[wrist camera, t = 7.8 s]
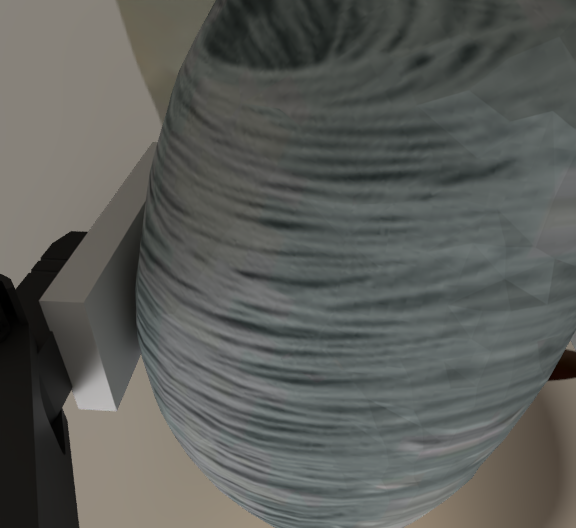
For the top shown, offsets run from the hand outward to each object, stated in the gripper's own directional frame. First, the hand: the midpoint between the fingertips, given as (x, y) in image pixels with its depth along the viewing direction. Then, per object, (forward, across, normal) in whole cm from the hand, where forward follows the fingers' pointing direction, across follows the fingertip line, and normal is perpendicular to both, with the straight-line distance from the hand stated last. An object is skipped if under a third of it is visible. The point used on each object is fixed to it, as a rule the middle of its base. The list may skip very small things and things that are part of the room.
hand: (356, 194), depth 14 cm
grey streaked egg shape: (+1, 0, 0) cm, 1 cm away
